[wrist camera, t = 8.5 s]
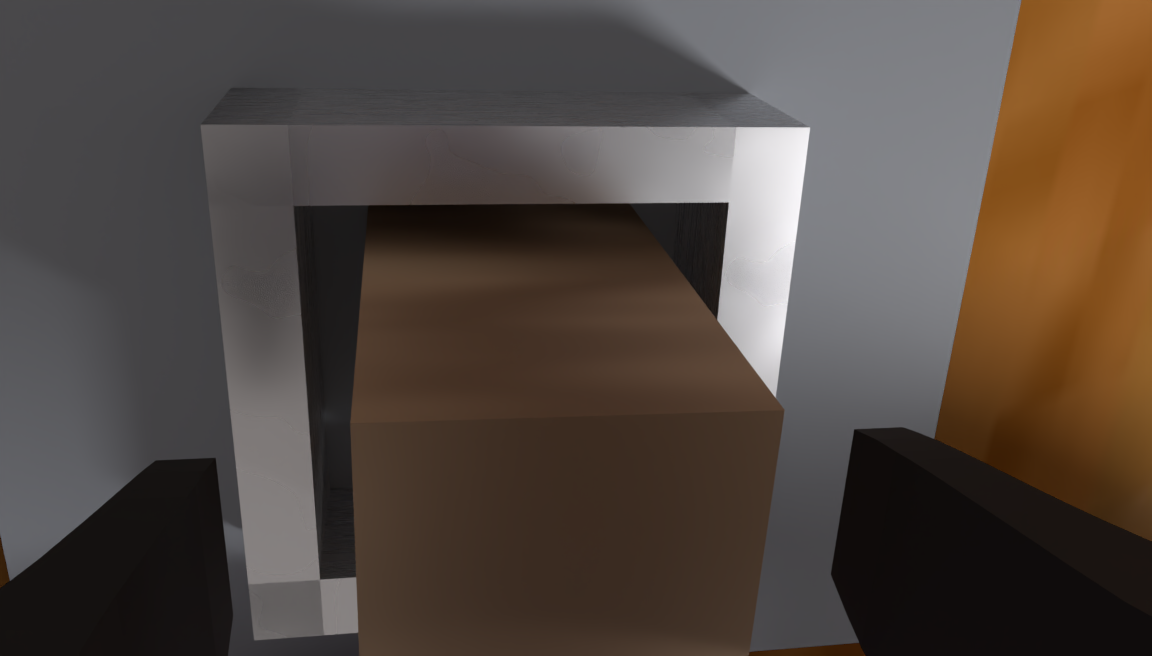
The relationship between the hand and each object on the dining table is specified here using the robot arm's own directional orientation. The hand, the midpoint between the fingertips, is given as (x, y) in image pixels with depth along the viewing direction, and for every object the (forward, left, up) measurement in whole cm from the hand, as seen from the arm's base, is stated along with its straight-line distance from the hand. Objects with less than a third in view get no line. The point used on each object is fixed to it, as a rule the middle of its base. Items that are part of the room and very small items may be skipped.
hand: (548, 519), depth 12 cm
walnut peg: (0, 0, -5) cm, 5 cm away
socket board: (0, 0, -6) cm, 6 cm away
